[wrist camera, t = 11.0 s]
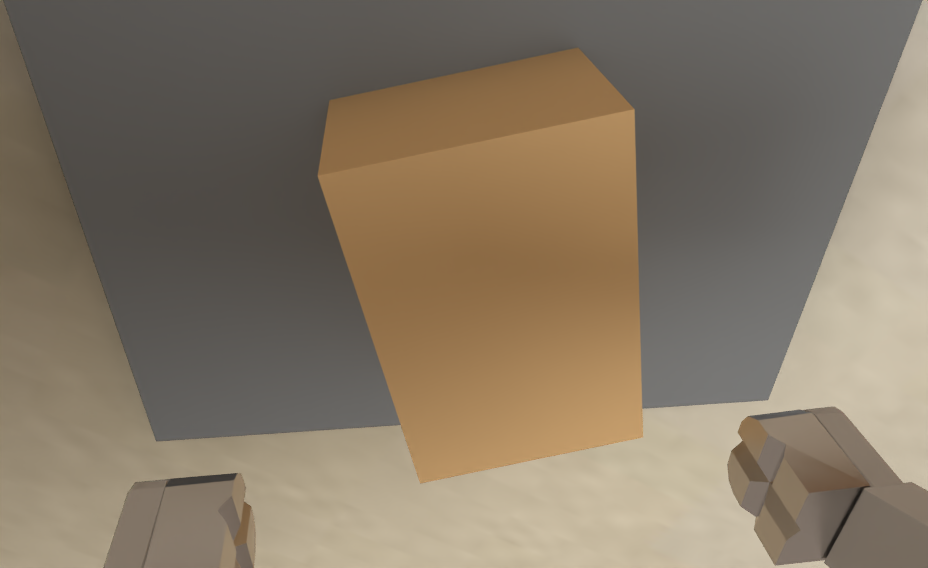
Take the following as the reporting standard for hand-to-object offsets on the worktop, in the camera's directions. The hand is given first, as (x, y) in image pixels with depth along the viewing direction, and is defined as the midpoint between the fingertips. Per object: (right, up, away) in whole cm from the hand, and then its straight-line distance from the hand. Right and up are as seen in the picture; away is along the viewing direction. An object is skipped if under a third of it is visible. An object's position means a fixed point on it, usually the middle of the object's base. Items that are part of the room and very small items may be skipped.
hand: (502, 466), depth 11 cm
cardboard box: (0, +4, +7) cm, 8 cm away
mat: (0, +5, +7) cm, 9 cm away
